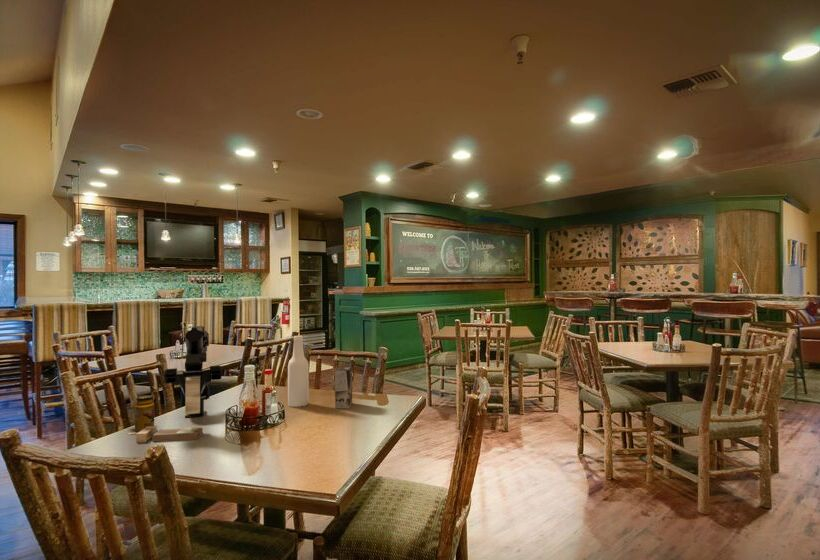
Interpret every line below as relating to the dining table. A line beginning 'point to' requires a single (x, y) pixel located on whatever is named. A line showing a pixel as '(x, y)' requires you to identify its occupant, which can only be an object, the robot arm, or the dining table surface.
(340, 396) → the coffee box
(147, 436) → the lintel
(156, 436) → the flat wooden block
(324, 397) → the dining table surface
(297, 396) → the alcohol
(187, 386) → the birch post
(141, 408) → the condiment
